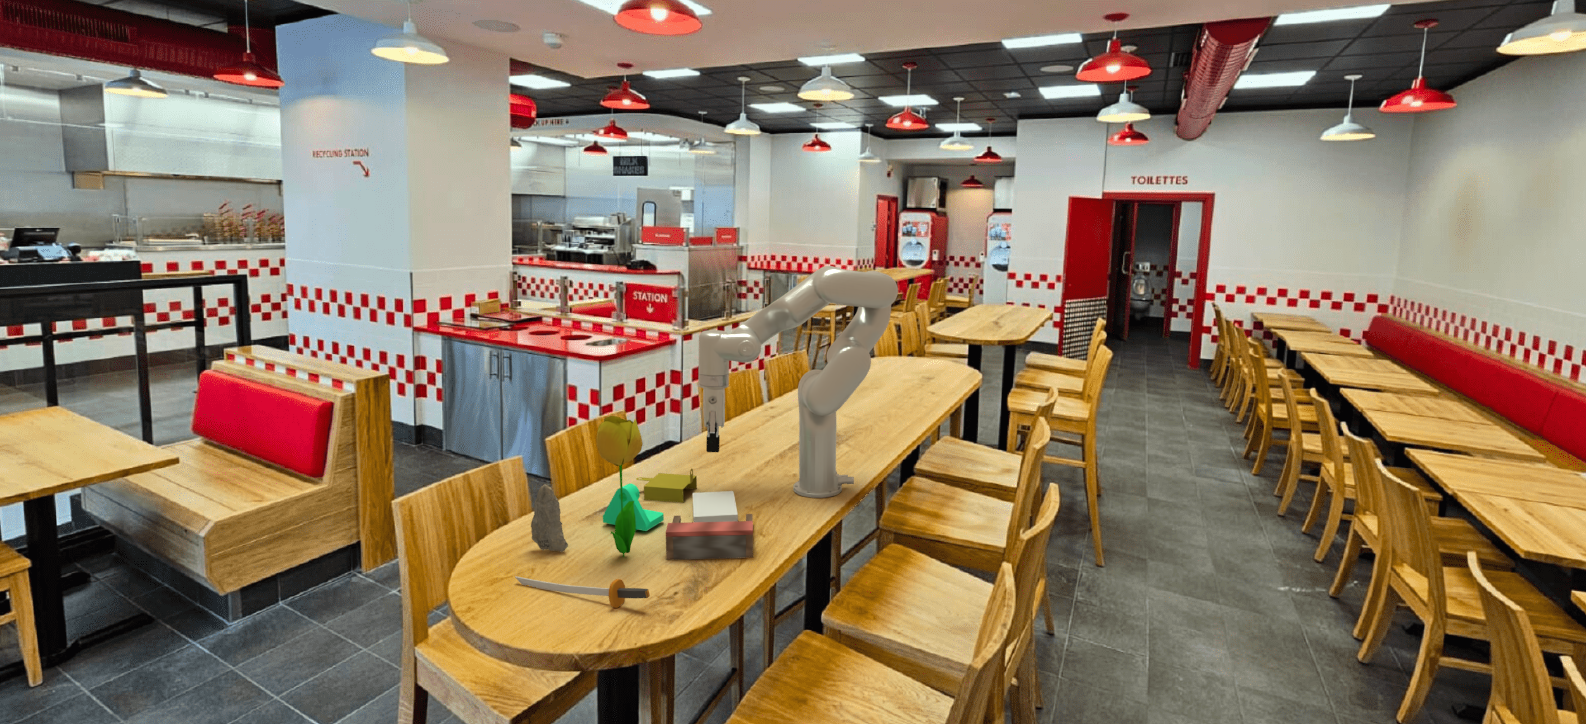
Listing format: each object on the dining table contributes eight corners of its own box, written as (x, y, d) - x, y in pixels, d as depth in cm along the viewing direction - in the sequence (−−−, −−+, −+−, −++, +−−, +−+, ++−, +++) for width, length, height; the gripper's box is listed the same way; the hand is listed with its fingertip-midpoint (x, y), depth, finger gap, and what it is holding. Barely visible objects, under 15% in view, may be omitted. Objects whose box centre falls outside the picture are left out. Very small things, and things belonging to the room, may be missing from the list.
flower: (623, 568, 160) (617, 425, 154) (595, 559, 164) (588, 419, 158) (652, 553, 167) (647, 415, 161) (624, 545, 171) (618, 410, 166)
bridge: (752, 524, 183) (752, 499, 181) (753, 557, 165) (752, 530, 164) (674, 525, 182) (673, 501, 180) (666, 559, 164) (665, 532, 163)
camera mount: (665, 523, 183) (664, 481, 182) (646, 535, 177) (644, 491, 175) (623, 515, 188) (621, 474, 187) (603, 526, 182) (601, 484, 180)
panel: (733, 504, 196) (733, 490, 196) (737, 528, 181) (737, 514, 180) (693, 506, 195) (692, 492, 194) (694, 531, 180) (693, 516, 179)
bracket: (647, 455, 210) (701, 459, 207) (648, 483, 212) (701, 487, 209) (623, 474, 195) (681, 478, 192) (624, 504, 197) (682, 508, 194)
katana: (508, 588, 152) (506, 564, 151) (523, 579, 156) (521, 555, 155) (643, 618, 140) (642, 592, 139) (655, 607, 144) (655, 581, 143)
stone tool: (572, 549, 169) (569, 482, 166) (564, 555, 166) (560, 487, 163) (538, 545, 171) (533, 479, 168) (529, 551, 168) (525, 484, 165)
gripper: (728, 386, 189) (727, 460, 192) (729, 374, 204) (728, 443, 207) (696, 386, 189) (696, 460, 192) (700, 374, 203) (699, 442, 207)
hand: (712, 451), depth 199 cm, fingers closed
